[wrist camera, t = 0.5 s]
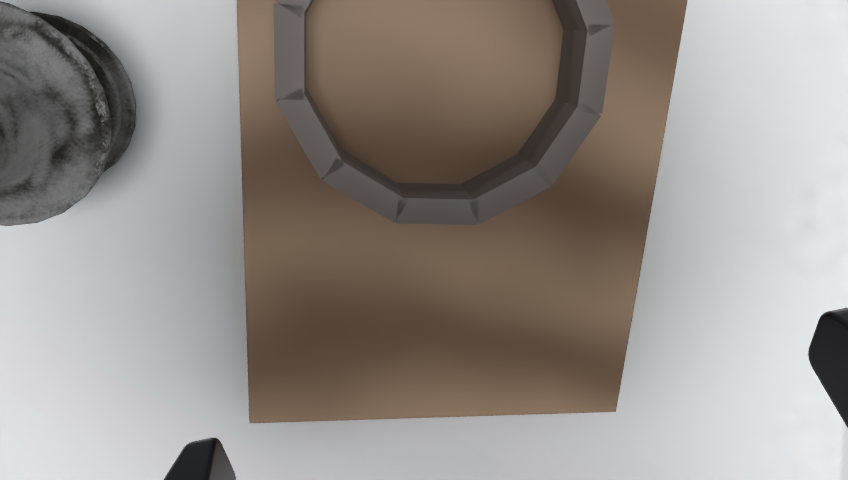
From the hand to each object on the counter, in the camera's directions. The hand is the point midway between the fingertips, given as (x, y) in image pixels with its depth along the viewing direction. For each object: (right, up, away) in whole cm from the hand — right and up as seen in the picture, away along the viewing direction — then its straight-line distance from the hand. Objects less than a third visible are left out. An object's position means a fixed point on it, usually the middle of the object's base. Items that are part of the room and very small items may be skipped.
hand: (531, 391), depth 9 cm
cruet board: (-1, +4, +13) cm, 14 cm away
